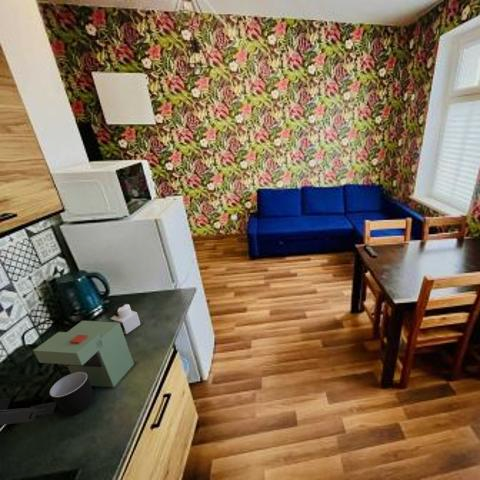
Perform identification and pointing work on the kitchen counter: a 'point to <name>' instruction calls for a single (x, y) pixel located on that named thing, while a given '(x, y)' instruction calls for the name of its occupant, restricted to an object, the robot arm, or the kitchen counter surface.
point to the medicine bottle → (125, 317)
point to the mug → (72, 393)
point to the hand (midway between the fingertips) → (30, 405)
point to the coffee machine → (90, 351)
